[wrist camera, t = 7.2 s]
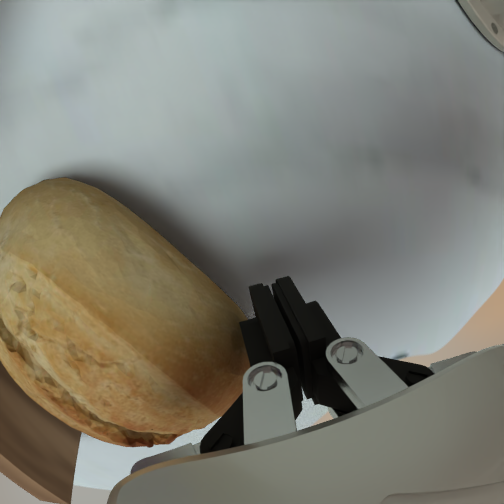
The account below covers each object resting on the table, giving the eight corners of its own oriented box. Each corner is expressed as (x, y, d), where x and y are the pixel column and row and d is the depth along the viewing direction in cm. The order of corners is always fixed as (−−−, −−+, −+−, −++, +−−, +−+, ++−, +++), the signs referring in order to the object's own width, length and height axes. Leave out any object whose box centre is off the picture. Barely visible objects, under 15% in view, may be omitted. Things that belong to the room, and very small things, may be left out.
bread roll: (184, 393, 19) (191, 496, 12) (-5, 266, 13) (-77, 351, 6) (286, 304, 18) (340, 411, 11) (71, 126, 12) (-35, 144, 5)
